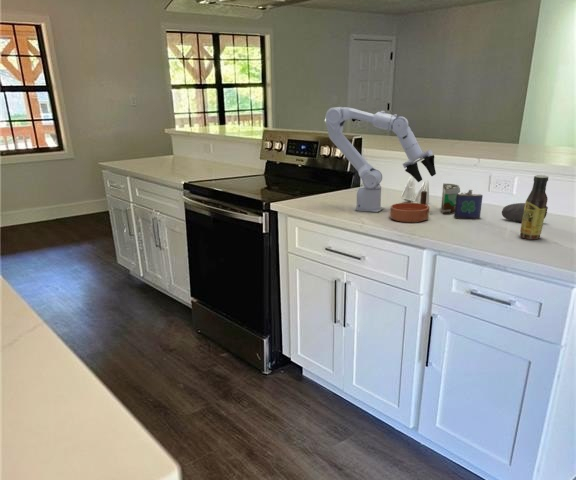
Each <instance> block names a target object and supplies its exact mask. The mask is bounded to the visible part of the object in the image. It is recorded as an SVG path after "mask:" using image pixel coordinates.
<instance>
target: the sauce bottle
mask: <svg viewBox="0 0 576 480" xmlns="http://www.w3.org/2000/svg"><path fill="white" fill-rule="evenodd" d="M548 181H549V176H548V175H546V174H545V175H543V174H536V175H534V176H533V184H532V188H531V190H530V193H529V194H528V196H527V198H526V199H525V202H524V203H525V208H524V213H523V219H522V222H521V225H520V230H519V232H520V234H519V236H520V238H522V239H525V240H538V239H540V238H541V234H542V230H543V225H544V222H545V221H544V220H545V218H544V216H545V212H546V206H547V204H548V195H547V192H546V190H547V184H548Z"/></svg>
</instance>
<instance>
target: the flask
mask: <svg viewBox="0 0 576 480" xmlns="http://www.w3.org/2000/svg"><path fill="white" fill-rule="evenodd" d="M482 204H483V194H481V193H473V189H468V192H460V193H458V194H457V197H456V207H455V212H454V219H459V220H460V219H461V220H467V219H468V220H479V219H480V218H481V214H482V213H481V212H482Z"/></svg>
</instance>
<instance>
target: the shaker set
mask: <svg viewBox="0 0 576 480" xmlns="http://www.w3.org/2000/svg"><path fill="white" fill-rule="evenodd" d="M421 191H427V197H426V205H429V204H430V183H429V180H424V181H423V182H422V184H421V186H420V188H419V191H418V192H417V194H416V179H415V178H414V177H413V176H409V178H408V180H407V182H406V183H405V187H404V189H403V191H402V193H401V195H400V199H401V200H403V201H405V202H407V203H412V202H413V201H414V202H413V203H419V204H420V200H421Z"/></svg>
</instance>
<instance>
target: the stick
mask: <svg viewBox="0 0 576 480" xmlns="http://www.w3.org/2000/svg"><path fill="white" fill-rule="evenodd" d="M426 197H427V191H424V190H423V191H421V200H420V204H424V205H427V204H426Z"/></svg>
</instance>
